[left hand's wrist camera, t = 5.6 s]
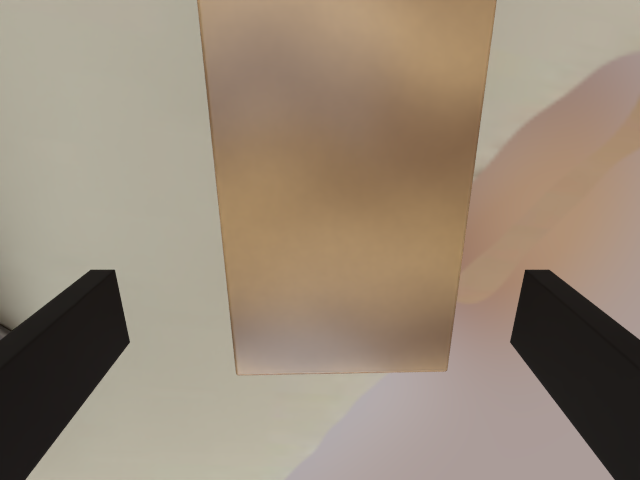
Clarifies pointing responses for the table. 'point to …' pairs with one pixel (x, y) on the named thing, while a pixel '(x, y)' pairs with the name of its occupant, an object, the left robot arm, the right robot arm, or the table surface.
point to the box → (344, 175)
